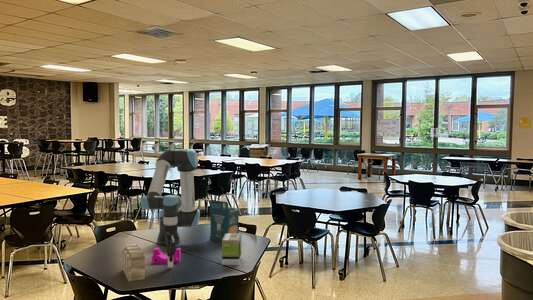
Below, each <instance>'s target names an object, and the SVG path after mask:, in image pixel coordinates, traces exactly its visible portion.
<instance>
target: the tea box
mask: <svg viewBox="0 0 533 300" xmlns="http://www.w3.org/2000/svg"><path fill="white" fill-rule="evenodd" d="M241 259H242V233H239V232H238V233H225V235H224V237H223V239H222V242H221V265H222V266H224V265H226V266H229V265H230V266H240V263H241Z"/></svg>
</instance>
